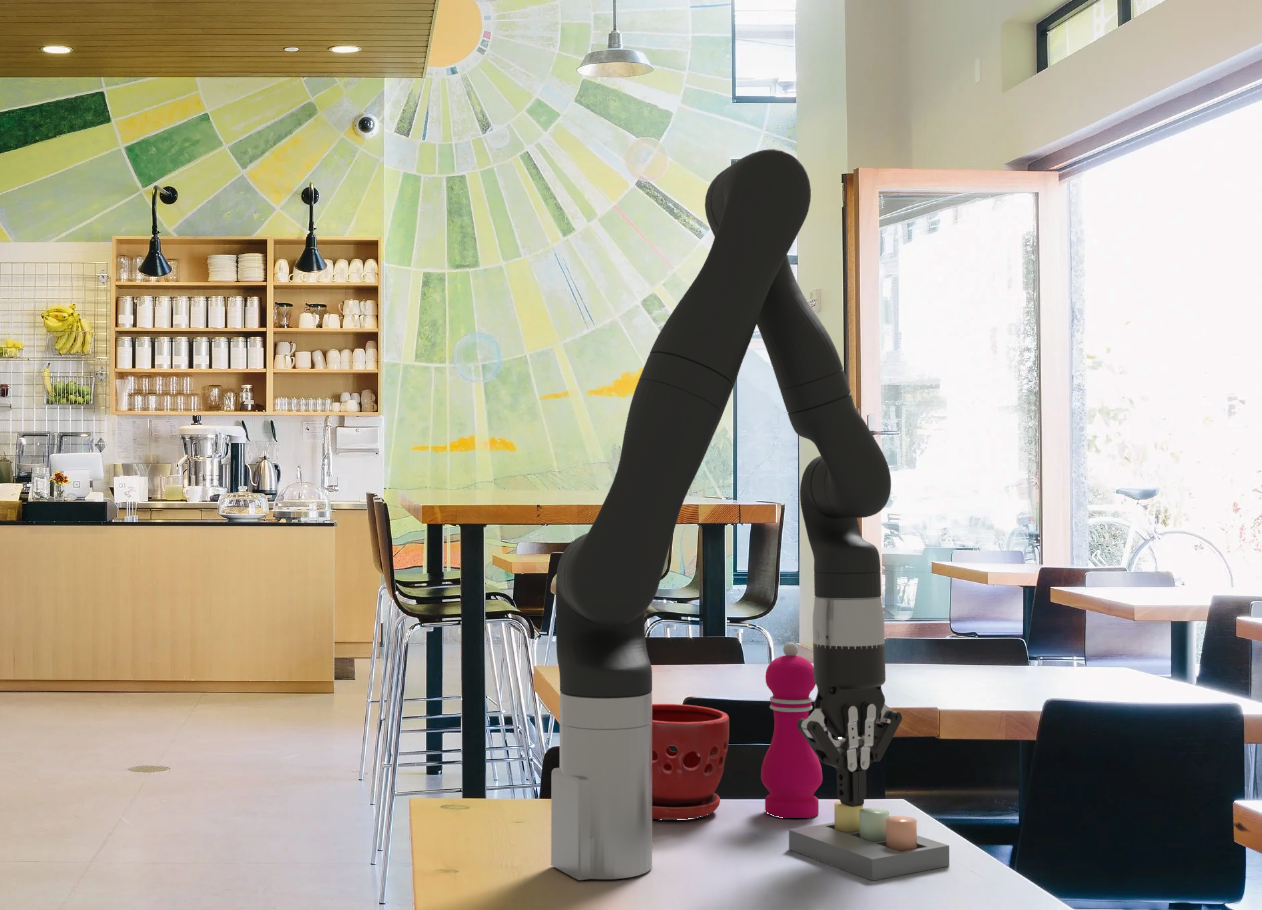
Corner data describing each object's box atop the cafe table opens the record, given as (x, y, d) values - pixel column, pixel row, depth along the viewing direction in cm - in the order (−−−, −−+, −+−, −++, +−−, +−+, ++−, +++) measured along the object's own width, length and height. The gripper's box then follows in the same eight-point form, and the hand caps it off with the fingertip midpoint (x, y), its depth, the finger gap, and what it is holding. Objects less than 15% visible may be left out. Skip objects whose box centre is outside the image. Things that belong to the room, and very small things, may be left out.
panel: (872, 880, 116) (872, 859, 116) (789, 848, 127) (788, 829, 127) (949, 865, 121) (949, 845, 121) (862, 836, 132) (862, 817, 132)
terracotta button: (900, 855, 119) (900, 824, 119) (879, 848, 122) (879, 818, 122) (923, 851, 121) (923, 820, 121) (902, 844, 123) (902, 814, 123)
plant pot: (615, 826, 137) (615, 718, 137) (620, 800, 150) (621, 701, 150) (731, 827, 136) (731, 719, 137) (727, 801, 149) (726, 702, 150)
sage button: (873, 846, 123) (872, 816, 123) (853, 839, 125) (853, 809, 125) (895, 842, 124) (895, 812, 124) (875, 835, 127) (875, 806, 127)
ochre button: (847, 838, 126) (847, 808, 126) (828, 831, 129) (828, 803, 129) (869, 834, 128) (869, 805, 128) (850, 828, 130) (850, 799, 130)
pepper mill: (821, 806, 146) (819, 639, 147) (824, 821, 139) (823, 645, 140) (760, 805, 147) (759, 638, 148) (761, 819, 140) (760, 644, 141)
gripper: (821, 646, 123) (825, 820, 122) (919, 638, 129) (924, 803, 128) (777, 640, 129) (780, 805, 128) (872, 633, 136) (876, 790, 135)
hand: (852, 804), depth 128 cm, fingers closed
